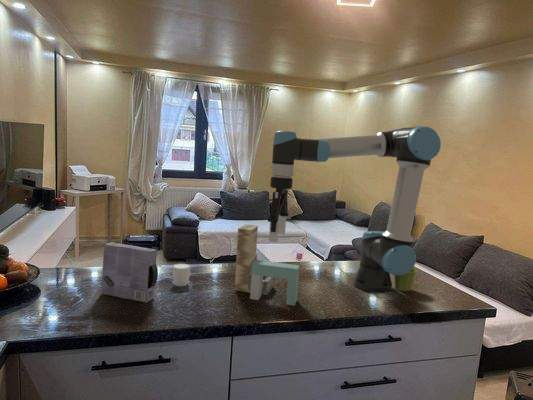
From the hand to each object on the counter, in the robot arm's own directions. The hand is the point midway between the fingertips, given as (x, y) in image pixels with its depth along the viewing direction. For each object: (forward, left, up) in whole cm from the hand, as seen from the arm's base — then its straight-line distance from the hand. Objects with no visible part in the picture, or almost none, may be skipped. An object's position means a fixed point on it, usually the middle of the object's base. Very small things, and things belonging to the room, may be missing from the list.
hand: (277, 237), depth 136 cm
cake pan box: (+47, +17, -23) cm, 55 cm away
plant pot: (-47, -32, -23) cm, 62 cm away
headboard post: (+9, -8, -23) cm, 26 cm away
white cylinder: (+37, -2, -23) cm, 43 cm away
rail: (0, 0, -23) cm, 23 cm away
